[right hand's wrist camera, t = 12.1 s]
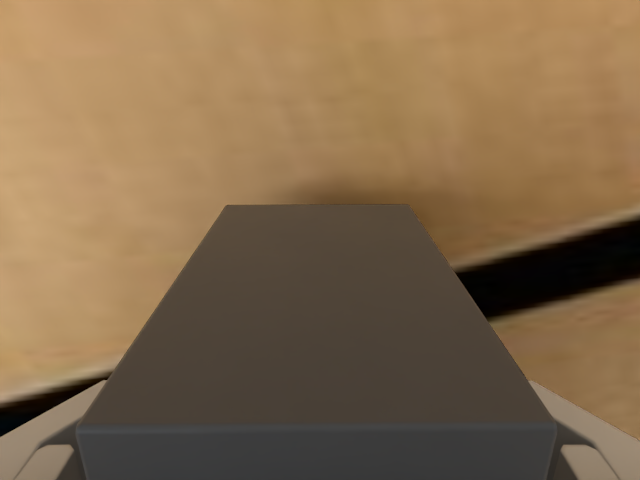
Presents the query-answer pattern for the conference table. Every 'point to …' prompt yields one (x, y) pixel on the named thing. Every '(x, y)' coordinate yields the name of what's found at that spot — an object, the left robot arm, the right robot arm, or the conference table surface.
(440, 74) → the conference table surface
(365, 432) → the bar
